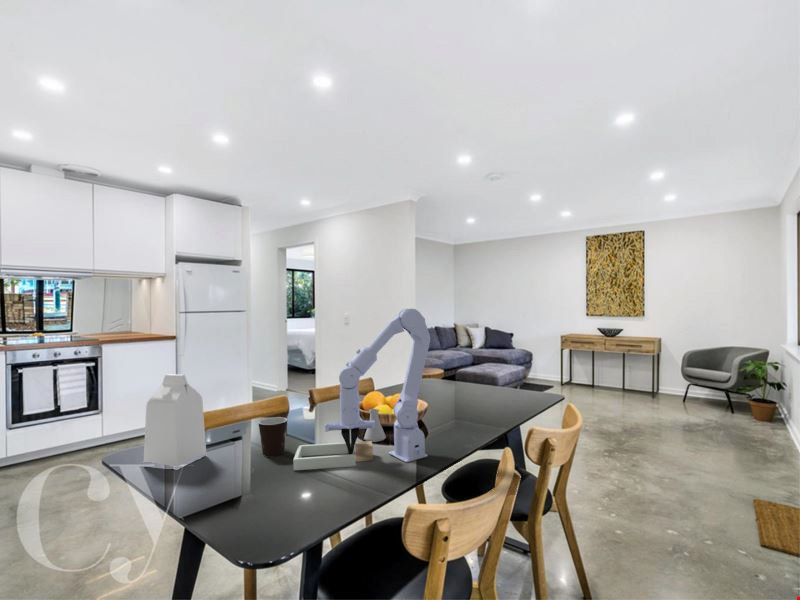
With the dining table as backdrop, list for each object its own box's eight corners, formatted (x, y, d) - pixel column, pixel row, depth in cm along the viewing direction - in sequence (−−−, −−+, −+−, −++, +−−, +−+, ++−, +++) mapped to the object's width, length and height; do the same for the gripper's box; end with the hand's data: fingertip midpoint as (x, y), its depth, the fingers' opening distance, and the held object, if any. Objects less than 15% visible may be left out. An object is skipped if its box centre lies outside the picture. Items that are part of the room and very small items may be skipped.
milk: (206, 456, 126) (205, 372, 126) (176, 470, 114) (175, 378, 115) (175, 453, 129) (174, 371, 129) (143, 467, 118) (142, 377, 118)
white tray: (354, 451, 126) (354, 441, 126) (355, 466, 114) (354, 455, 114) (298, 455, 124) (298, 445, 124) (293, 470, 112) (293, 459, 112)
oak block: (371, 454, 123) (371, 441, 123) (372, 460, 118) (372, 446, 119) (355, 455, 123) (355, 442, 123) (355, 461, 118) (355, 447, 118)
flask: (375, 444, 133) (375, 413, 133) (359, 440, 137) (359, 410, 138) (389, 438, 139) (389, 408, 139) (373, 434, 143) (373, 406, 143)
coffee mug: (279, 458, 122) (278, 425, 122) (253, 457, 123) (252, 424, 124) (296, 445, 133) (296, 415, 133) (272, 444, 135) (272, 414, 135)
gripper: (324, 412, 116) (325, 460, 115) (374, 409, 118) (376, 456, 117) (325, 406, 123) (326, 452, 122) (373, 404, 125) (374, 448, 124)
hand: (350, 453), depth 120 cm, fingers closed
